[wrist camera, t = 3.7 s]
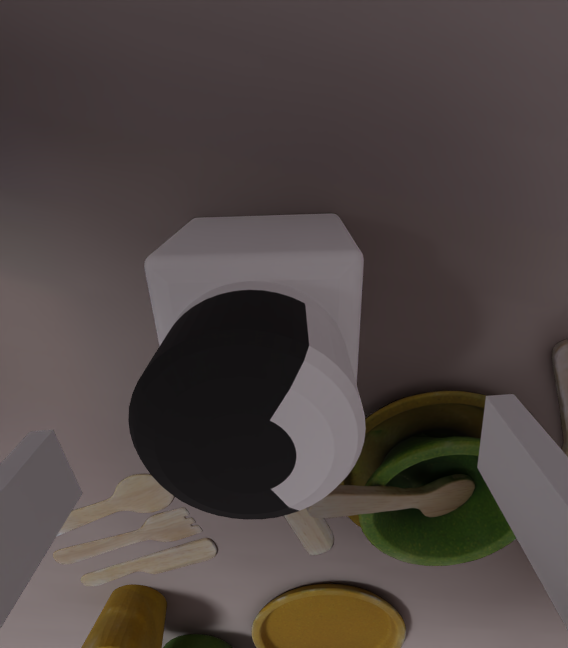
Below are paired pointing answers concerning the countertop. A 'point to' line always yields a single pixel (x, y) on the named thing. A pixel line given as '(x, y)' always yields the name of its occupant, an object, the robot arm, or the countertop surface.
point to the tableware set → (328, 529)
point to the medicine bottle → (252, 364)
